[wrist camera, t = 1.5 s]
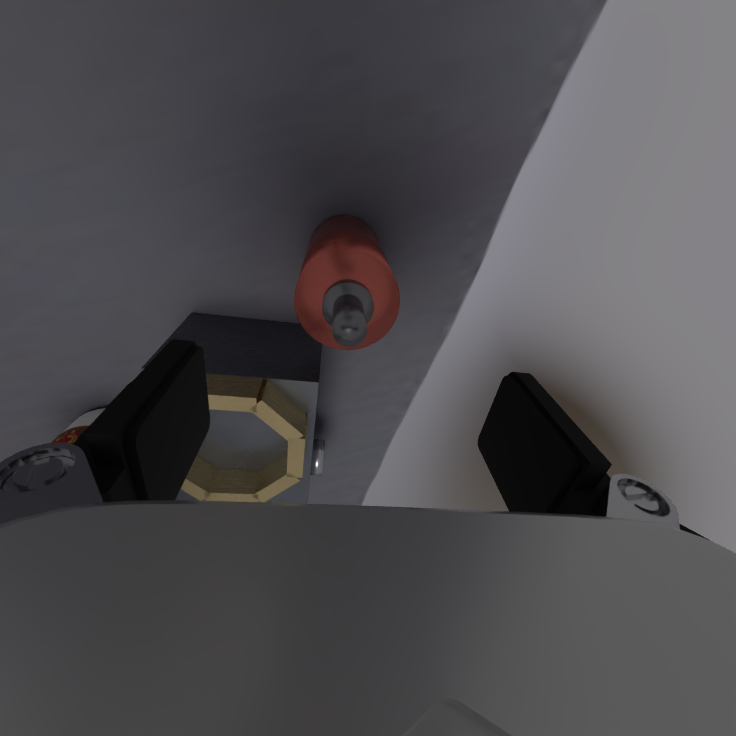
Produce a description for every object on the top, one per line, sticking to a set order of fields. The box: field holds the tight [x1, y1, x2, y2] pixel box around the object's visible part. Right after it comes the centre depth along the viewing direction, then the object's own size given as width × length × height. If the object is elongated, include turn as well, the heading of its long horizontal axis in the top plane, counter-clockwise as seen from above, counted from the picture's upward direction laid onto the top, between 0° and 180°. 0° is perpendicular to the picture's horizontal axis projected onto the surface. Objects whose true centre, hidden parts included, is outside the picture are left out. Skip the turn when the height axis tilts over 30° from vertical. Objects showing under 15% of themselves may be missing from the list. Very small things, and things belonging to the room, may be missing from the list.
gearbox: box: [142, 313, 325, 504], centre depth 26 cm, size 14×11×11 cm
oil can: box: [294, 215, 400, 350], centre depth 19 cm, size 5×5×13 cm
